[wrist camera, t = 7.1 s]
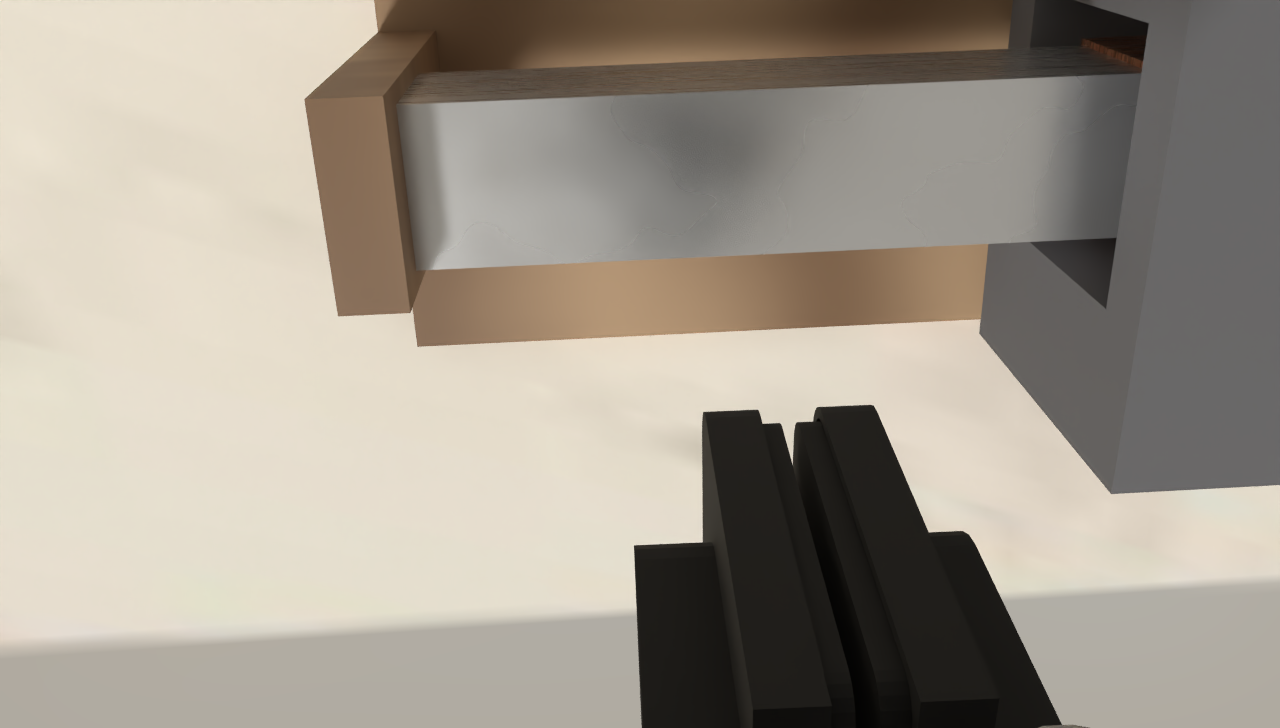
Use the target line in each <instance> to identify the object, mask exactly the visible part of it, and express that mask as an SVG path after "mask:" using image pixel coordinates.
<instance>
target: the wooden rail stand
mask: <svg viewBox="0 0 1280 728" xmlns="http://www.w3.org/2000/svg"><path fill="white" fill-rule="evenodd" d="M374 3H375V11H376V19H377V27H378V33H377V34H376V35H375V36H374V37H372V38H371V39H370V40H369V41H368V42H367V43H366V44H365V45H364V46H363V47H361V48H360V49H359V50H358V51H357V52H356V53H355V54H354V55H353V56H352V57H350V58H349V59H348V60H347V61H346V62H345V63H344V64H343V65H342V66H341V67H339V68H338V69H337V70H336V71H335V72H334V73H333V74H332V75H331V76H330V77H328V78H327V79H326V80H325V81H324V82H323V83H322V84H321V85H320V86H319V87H317V88H316V89H315V90H314V91H313V92H312V93H311V94H310V95H309V96H308V97H306V98H305V106H306V112H307V119H308V125H309V132H310V138H311V145H312V151H313V157H314V164H315V170H316V177H317V183H318V190H319V196H320V203H321V209H322V215H323V222H324V228H325V235H326V241H327V248H328V254H329V261H330V267H331V273H332V280H333V286H334V293H335V299H336V306H337V312H338V316H354V315H375V314H396V313H410V312H411V310H412V307H413V314H414V322H415V330H416V338H417V346H418V347H419V346H439V345H460V344H480V343H501V342H521V341H542V340H562V339H583V338H603V337H624V336H644V335H665V334H685V333H706V332H726V331H747V330H767V329H788V328H808V327H829V326H849V325H870V324H891V323H911V322H932V321H952V320H973V319H981V313H982V303H983V293H984V283H985V273H986V263H987V253H988V244H974V245H953V246H932V247H910V248H889V249H867V250H846V251H825V252H803V253H782V254H761V255H739V256H718V257H696V258H675V259H654V260H632V261H611V262H590V263H568V264H547V265H525V266H504V267H483V268H461V269H440V270H418V271H416V263H415V255H414V247H413V239H412V230H411V222H410V214H409V206H408V198H407V189H406V181H405V173H404V165H403V156H402V148H401V140H400V132H399V124H398V115H397V107H396V105H397V103H398V102H399V100H400V99H401V98H402V96H403V95H404V93H405V92H406V91H407V89H408V88H409V87H410V85H411V84H412V82H413V81H414V80H415V78H416V77H417V75H418V74H419V73H436V72H460V71H484V70H508V69H532V68H556V67H580V66H605V65H629V64H653V63H677V62H701V61H725V60H749V59H773V58H797V57H821V56H845V55H869V54H893V53H917V52H941V51H965V50H989V49H1008V44H1009V34H1010V24H1011V14H1012V4H1013V0H374Z"/></svg>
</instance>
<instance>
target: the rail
mask: <svg viewBox="0 0 1280 728" xmlns="http://www.w3.org/2000/svg"><path fill="white" fill-rule="evenodd" d="M1146 39H1147V35H1145V36H1121V37H1097V38H1082V39H1081V46H1061V47H1037V48H1013V49H989V50H965V51H941V52H917V53H893V54H869V55H845V56H821V57H797V58H773V59H749V60H725V61H701V62H677V63H653V64H629V65H605V66H580V67H556V68H532V69H508V70H484V71H460V72H436V73H419V74H418V75H417V77H416V78H415V80H414V81H413V82H412V84H411V85H410V87H409V88H408V89H407V91H406V92H405V93H404V95H403V96H402V98H401V99H400V100H399V102H398V103H397V105H396V107H397V115H398V124H399V132H400V140H401V148H402V156H403V165H404V173H405V181H406V189H407V198H408V206H409V214H410V222H411V230H412V239H413V247H414V255H415V263H416V271H418V270H440V269H461V268H483V267H504V266H525V265H547V264H568V263H590V262H611V261H632V260H654V259H675V258H696V257H718V256H739V255H761V254H782V253H803V252H825V251H846V250H867V249H889V248H910V247H932V246H953V245H974V244H996V243H1017V242H1039V241H1060V240H1081V239H1103V238H1117V233H1118V227H1119V220H1120V213H1121V206H1122V200H1123V193H1124V186H1125V180H1126V173H1127V166H1128V160H1129V153H1130V146H1131V140H1132V133H1133V126H1134V120H1135V113H1136V106H1137V100H1138V93H1139V86H1140V80H1141V73H1142V66H1143V60H1144V53H1145V46H1146Z"/></svg>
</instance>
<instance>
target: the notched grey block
mask: <svg viewBox="0 0 1280 728" xmlns="http://www.w3.org/2000/svg"><path fill="white" fill-rule="evenodd" d="M1145 35H1147V39H1146V46H1145V53H1144V60H1143V66H1142V73H1141V80H1140V86H1139V93H1138V100H1137V106H1136V113H1135V120H1134V126H1133V133H1132V140H1131V146H1130V153H1129V160H1128V166H1127V173H1126V180H1125V186H1124V193H1123V200H1122V206H1121V213H1120V220H1119V227H1118V233H1117V238H1103V239H1081V240H1060V241H1039V242H1017V243H996V244H988V253H987V263H986V273H985V283H984V293H983V303H982V313H981V323H980V332H979V334H980V335H981V336H982V337H983V338H984V340H985V341H986V342H987V343H988V344H989V346H990V347H991V348H992V349H993V351H994V352H995V353H996V354H997V355H998V357H999V358H1000V359H1001V360H1002V362H1003V363H1004V364H1005V365H1006V366H1007V368H1008V369H1009V370H1010V371H1011V372H1012V374H1013V375H1014V376H1015V377H1016V379H1017V380H1018V381H1019V382H1020V383H1021V385H1022V386H1023V387H1024V388H1025V390H1026V391H1027V392H1028V393H1029V394H1030V396H1031V397H1032V398H1033V399H1034V400H1035V402H1036V403H1037V404H1038V405H1039V407H1040V408H1041V409H1042V410H1043V411H1044V413H1045V414H1046V415H1047V416H1048V418H1049V419H1050V420H1051V421H1052V422H1053V424H1054V425H1055V426H1056V427H1057V428H1058V430H1059V431H1060V432H1061V433H1062V435H1063V436H1064V437H1065V438H1066V439H1067V441H1068V442H1069V443H1070V444H1071V446H1072V447H1073V448H1074V449H1075V450H1076V452H1077V453H1078V454H1079V455H1080V456H1081V458H1082V459H1083V460H1084V461H1085V463H1086V464H1087V465H1088V466H1089V467H1090V469H1091V470H1092V471H1093V472H1094V474H1095V475H1096V476H1097V477H1098V478H1099V480H1100V481H1101V482H1102V483H1103V484H1104V486H1105V487H1106V488H1107V489H1108V491H1109V492H1110V493H1111V494H1119V493H1138V492H1156V491H1175V490H1194V489H1212V488H1231V487H1250V486H1268V485H1280V0H1013V4H1012V14H1011V24H1010V34H1009V44H1008V49H1013V48H1037V47H1061V46H1081V39H1082V38H1097V37H1121V36H1145Z"/></svg>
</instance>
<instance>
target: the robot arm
mask: <svg viewBox="0 0 1280 728" xmlns="http://www.w3.org/2000/svg"><path fill="white" fill-rule="evenodd" d="M702 466H703V543H681V544H659V545H636V546H634V555H635V579H636V604H637V626H638V627H637V628H638V650H639V651H638V652H639V675H640V698H641V719H642V728H1088V727H1082V726H1077V725H1062V724H1061V722H1060V720H1059V718H1058V716H1057V714H1056V712H1055V710H1054V707H1053V705H1052V703H1051V701H1050V700H1049V697H1048V695H1047V693H1046V691H1045V689H1044V687H1043V685H1042V682H1041V680H1040V678H1039V676H1038V674H1037V672H1036V670H1035V668H1034V666H1033V664H1032V662H1031V660H1030V658H1029V655H1028V653H1027V651H1026V649H1025V647H1024V645H1023V643H1022V641H1021V639H1020V637H1019V635H1018V633H1017V631H1016V628H1015V626H1014V624H1013V622H1012V620H1011V618H1010V616H1009V614H1008V612H1007V610H1006V608H1005V606H1004V603H1003V601H1002V599H1001V597H1000V595H999V593H998V591H997V589H996V587H995V585H994V583H993V581H992V578H991V576H990V574H989V572H988V570H987V568H986V566H985V564H984V562H983V560H982V558H981V556H980V553H979V551H978V549H977V547H976V545H975V543H974V542H973V540H972V539H971V537H970V536H969V534H967V533H965V532H963V531H954V532H931V533H929V532H928V530H927V528H926V525H925V523H924V521H923V518H922V516H921V514H920V511H919V509H918V507H917V504H916V502H915V499H914V497H913V495H912V492H911V490H910V488H909V485H908V483H907V481H906V478H905V476H904V474H903V471H902V469H901V467H900V464H899V462H898V460H897V457H896V455H895V453H894V450H893V448H892V446H891V443H890V441H889V439H888V436H887V434H886V432H885V429H884V427H883V425H882V422H881V420H880V418H879V415H878V413H877V411H876V409H875V407H874V406H873V405H859V406H835V407H817V408H816V410H815V414H814V420H813V422H797V423H796V425H795V431H794V450H793V465H792V462H791V458H790V454H789V451H788V447H787V443H786V440H785V436H784V433H783V429H782V426H781V424H780V423H773V424H762V420H761V416H760V413H759V411H758V410H741V411H717V412H703V421H702Z"/></svg>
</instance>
